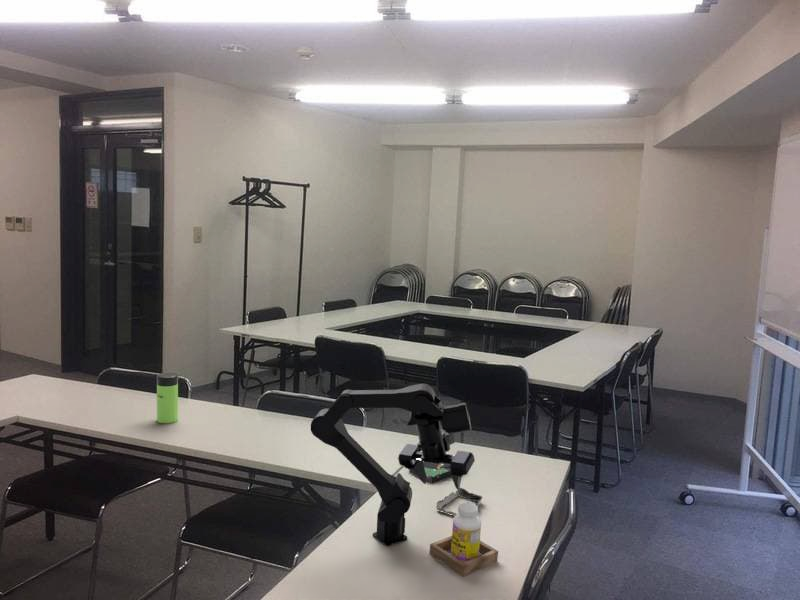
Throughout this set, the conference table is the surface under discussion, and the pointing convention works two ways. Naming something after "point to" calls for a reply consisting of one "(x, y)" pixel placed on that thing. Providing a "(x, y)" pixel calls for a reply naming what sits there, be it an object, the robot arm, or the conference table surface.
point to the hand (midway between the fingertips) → (441, 485)
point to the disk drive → (436, 471)
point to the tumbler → (167, 397)
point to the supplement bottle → (466, 533)
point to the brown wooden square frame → (462, 568)
